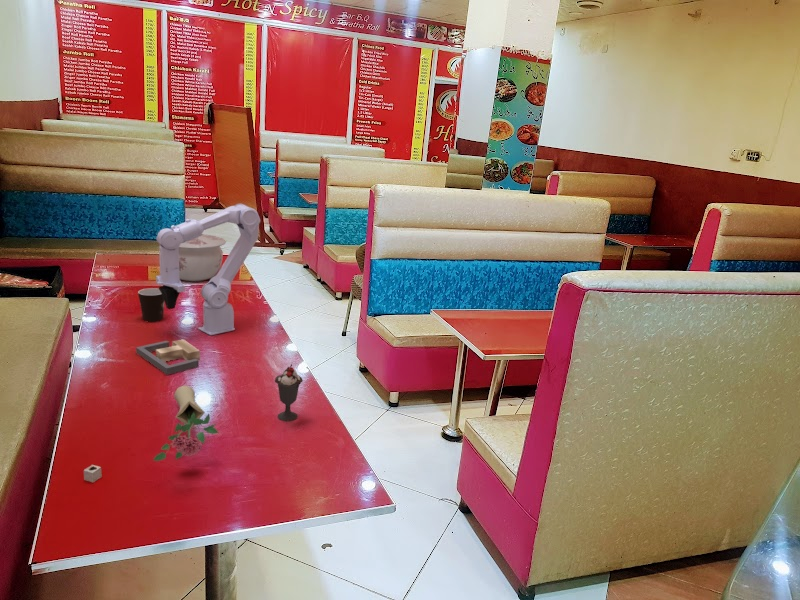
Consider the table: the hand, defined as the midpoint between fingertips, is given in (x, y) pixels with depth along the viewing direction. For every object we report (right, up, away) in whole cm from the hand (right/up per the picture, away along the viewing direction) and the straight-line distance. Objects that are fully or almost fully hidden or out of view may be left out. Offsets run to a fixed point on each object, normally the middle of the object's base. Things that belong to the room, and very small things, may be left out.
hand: (170, 308), depth 182 cm
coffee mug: (-12, -4, +17) cm, 21 cm away
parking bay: (+5, -15, -15) cm, 22 cm away
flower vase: (+26, -29, -54) cm, 66 cm away
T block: (+7, -14, -13) cm, 21 cm away
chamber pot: (-18, +13, +70) cm, 73 cm away
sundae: (+46, -27, -41) cm, 67 cm away
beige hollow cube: (+13, -33, -70) cm, 79 cm away
